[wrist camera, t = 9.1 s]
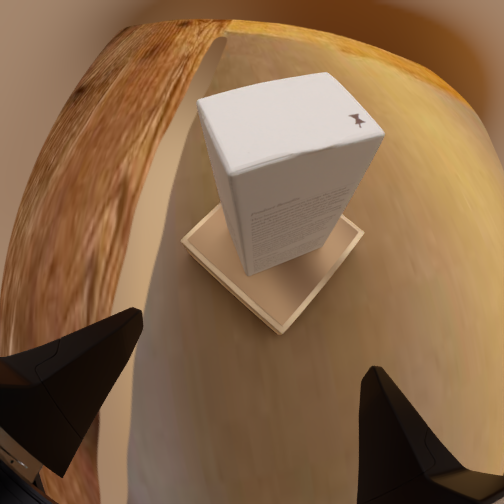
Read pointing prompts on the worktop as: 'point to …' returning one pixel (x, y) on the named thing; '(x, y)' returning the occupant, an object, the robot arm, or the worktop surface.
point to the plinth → (270, 269)
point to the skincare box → (286, 162)
